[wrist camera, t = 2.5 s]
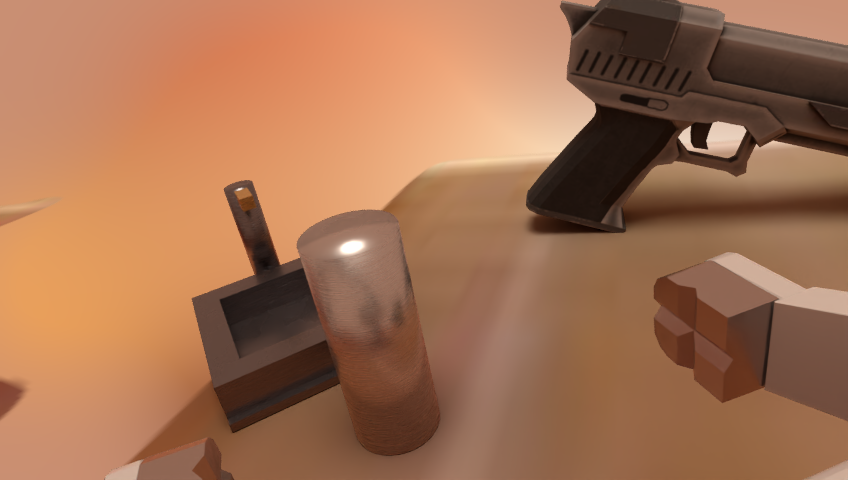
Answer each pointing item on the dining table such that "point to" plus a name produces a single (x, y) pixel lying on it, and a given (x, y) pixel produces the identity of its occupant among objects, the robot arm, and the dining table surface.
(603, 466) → the dining table surface
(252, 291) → the keeper
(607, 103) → the firearm
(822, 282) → the dining table surface
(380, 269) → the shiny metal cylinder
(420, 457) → the dining table surface
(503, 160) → the dining table surface
